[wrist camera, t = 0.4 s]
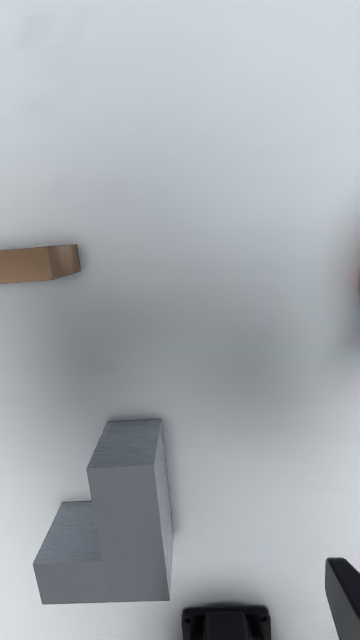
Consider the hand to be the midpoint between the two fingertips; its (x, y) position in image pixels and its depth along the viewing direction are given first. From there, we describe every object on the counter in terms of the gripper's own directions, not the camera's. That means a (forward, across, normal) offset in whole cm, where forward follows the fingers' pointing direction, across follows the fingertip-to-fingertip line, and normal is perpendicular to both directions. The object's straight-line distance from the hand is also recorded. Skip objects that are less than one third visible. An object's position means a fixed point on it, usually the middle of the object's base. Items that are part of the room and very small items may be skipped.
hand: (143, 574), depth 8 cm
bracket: (+13, +5, +7) cm, 16 cm away
